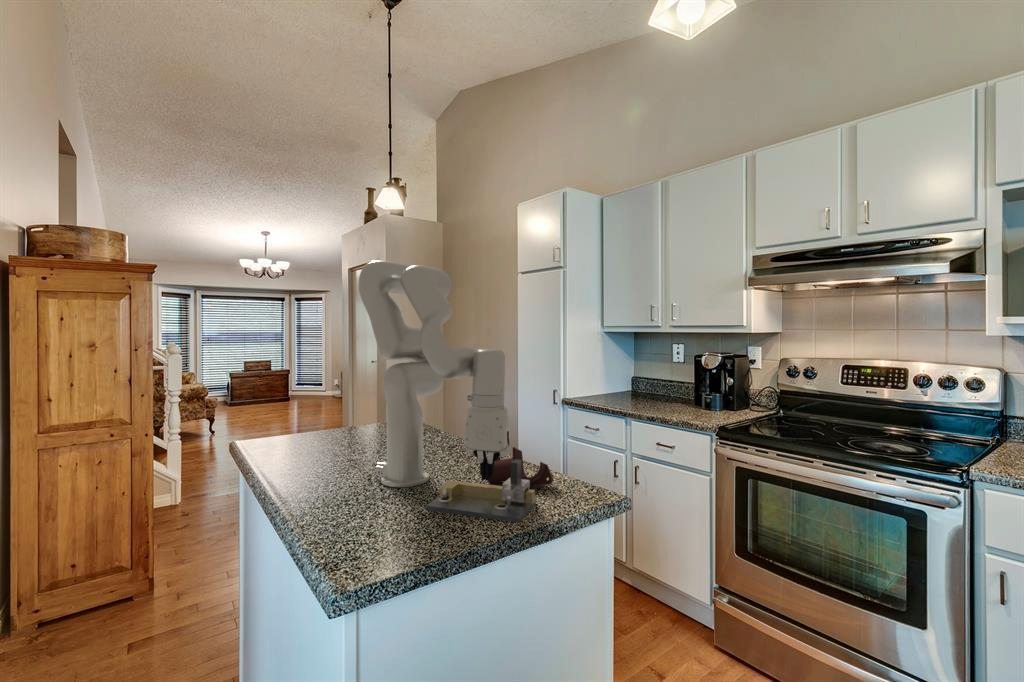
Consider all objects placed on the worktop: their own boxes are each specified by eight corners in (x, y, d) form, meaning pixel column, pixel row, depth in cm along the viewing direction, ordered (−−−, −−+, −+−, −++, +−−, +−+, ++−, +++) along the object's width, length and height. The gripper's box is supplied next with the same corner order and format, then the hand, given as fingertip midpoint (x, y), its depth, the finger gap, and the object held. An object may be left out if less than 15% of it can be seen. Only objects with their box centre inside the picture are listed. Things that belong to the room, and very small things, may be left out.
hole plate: (426, 510, 105) (426, 504, 105) (450, 493, 117) (450, 488, 117) (520, 523, 98) (520, 517, 98) (536, 503, 110) (536, 498, 110)
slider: (497, 505, 104) (497, 466, 104) (509, 493, 112) (509, 457, 112) (518, 508, 103) (518, 468, 103) (529, 496, 111) (529, 459, 110)
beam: (436, 498, 110) (436, 488, 110) (448, 490, 116) (448, 480, 116) (526, 510, 102) (526, 499, 102) (534, 500, 109) (534, 490, 109)
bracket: (550, 482, 117) (545, 442, 121) (485, 490, 121) (483, 451, 125) (555, 484, 122) (551, 446, 126) (494, 492, 126) (491, 455, 131)
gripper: (452, 401, 110) (451, 479, 110) (513, 405, 105) (511, 487, 106) (465, 397, 117) (464, 470, 117) (523, 401, 112) (521, 477, 113)
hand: (487, 478), depth 111 cm, fingers closed
